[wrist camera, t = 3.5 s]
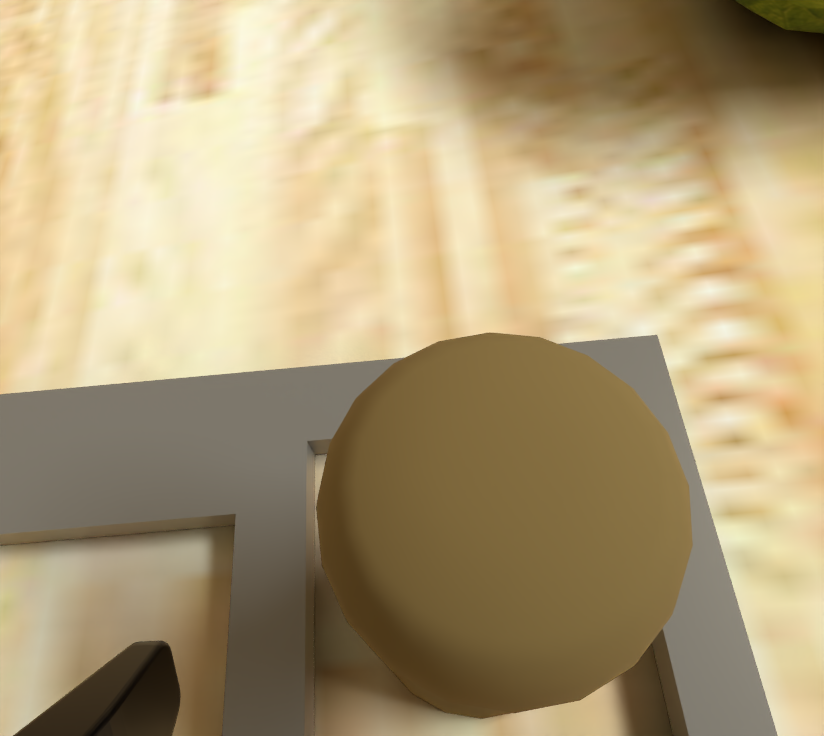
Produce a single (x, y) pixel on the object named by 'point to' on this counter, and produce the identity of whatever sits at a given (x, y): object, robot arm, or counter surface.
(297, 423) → the panel
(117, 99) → the counter surface
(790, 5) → the lettuce
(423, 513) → the cork
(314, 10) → the counter surface
